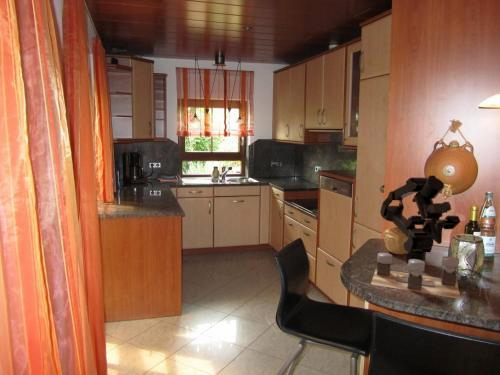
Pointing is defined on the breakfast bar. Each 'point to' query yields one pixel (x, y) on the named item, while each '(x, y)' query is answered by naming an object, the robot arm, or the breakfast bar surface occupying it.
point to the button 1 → (384, 258)
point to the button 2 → (450, 264)
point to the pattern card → (424, 281)
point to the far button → (416, 267)
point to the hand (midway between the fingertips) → (439, 243)
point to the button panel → (417, 282)
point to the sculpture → (395, 240)
